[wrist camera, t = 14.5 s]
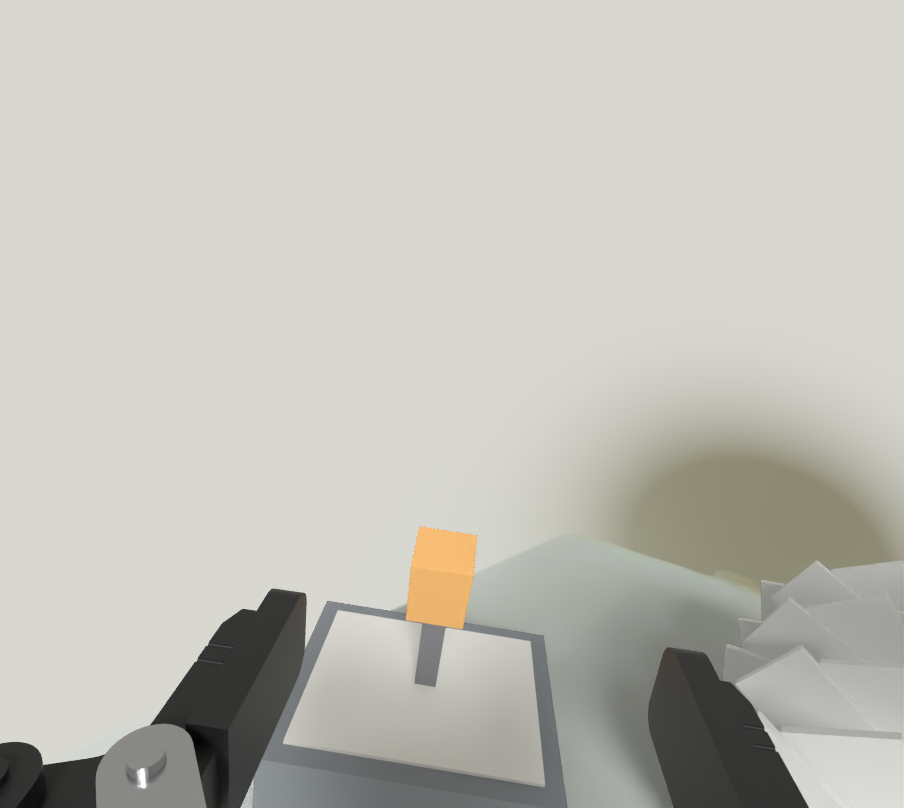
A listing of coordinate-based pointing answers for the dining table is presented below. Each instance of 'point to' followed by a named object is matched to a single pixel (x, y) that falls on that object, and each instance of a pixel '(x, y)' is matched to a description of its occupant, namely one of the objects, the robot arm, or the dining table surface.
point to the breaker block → (414, 721)
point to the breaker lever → (439, 592)
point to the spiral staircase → (830, 681)
